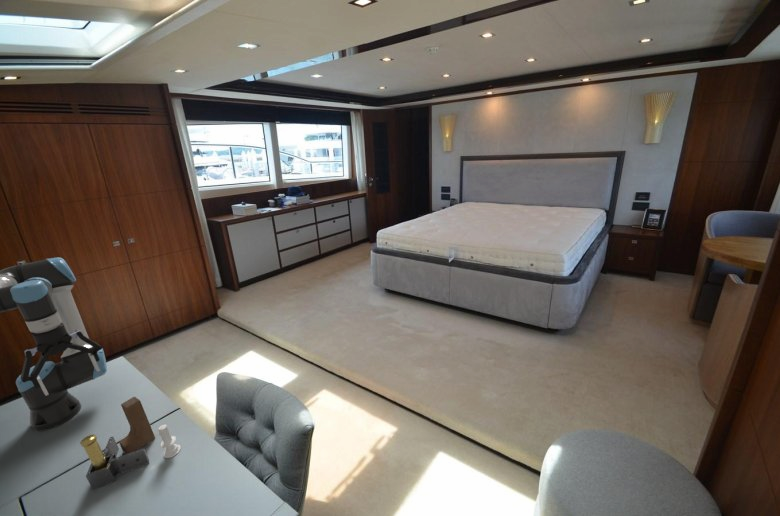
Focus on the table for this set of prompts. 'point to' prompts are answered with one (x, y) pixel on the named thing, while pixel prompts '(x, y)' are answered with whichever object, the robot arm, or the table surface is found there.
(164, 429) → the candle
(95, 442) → the hinge pin
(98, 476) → the square tube bracket
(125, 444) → the wooden block
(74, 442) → the table surface
